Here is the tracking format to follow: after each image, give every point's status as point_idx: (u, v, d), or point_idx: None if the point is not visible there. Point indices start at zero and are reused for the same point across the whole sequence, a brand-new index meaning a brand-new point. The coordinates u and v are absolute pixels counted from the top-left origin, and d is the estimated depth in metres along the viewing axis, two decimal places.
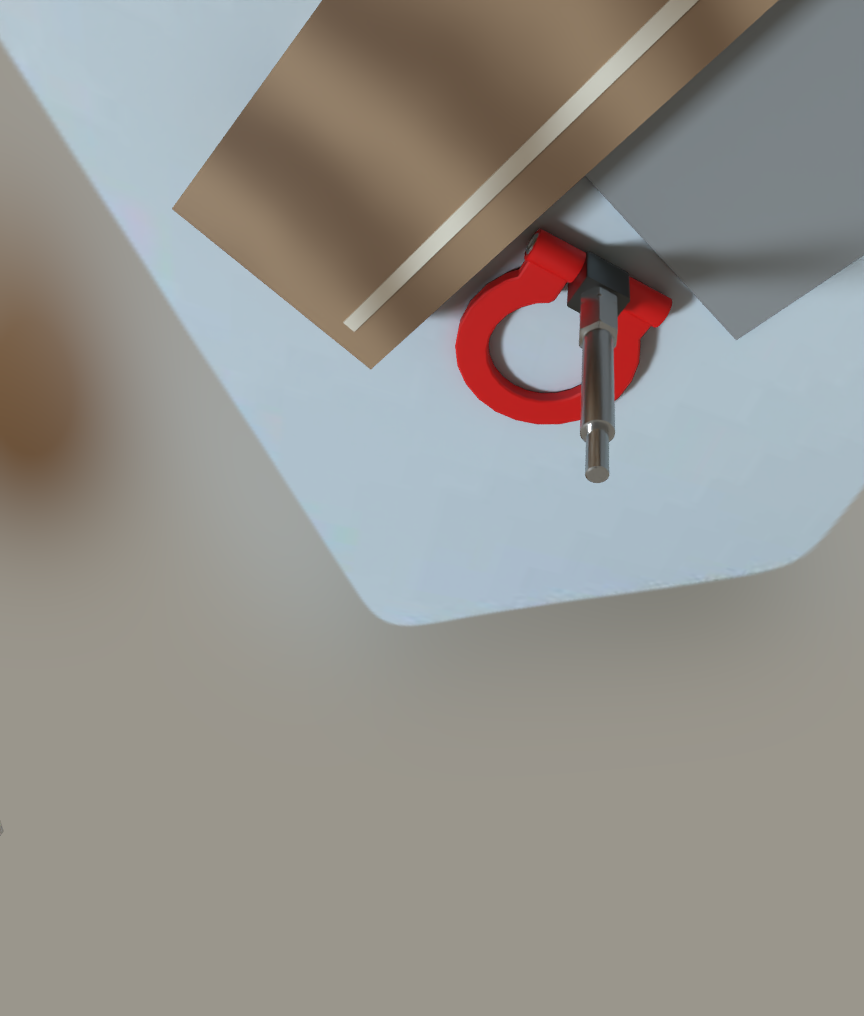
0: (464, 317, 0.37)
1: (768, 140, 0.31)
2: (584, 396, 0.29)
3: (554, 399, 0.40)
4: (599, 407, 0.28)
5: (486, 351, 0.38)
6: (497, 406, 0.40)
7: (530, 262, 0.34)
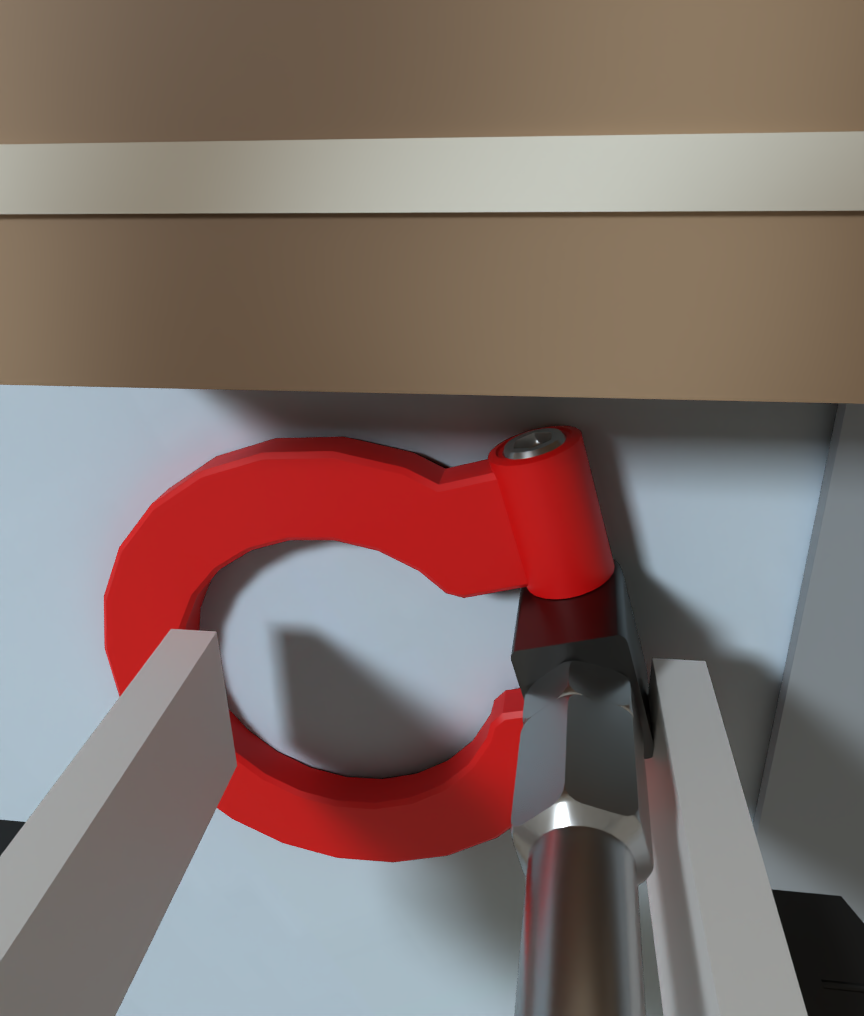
0: (231, 463, 0.12)
1: None
2: None
3: (265, 768, 0.15)
4: None
5: (213, 573, 0.13)
6: None
7: (495, 478, 0.12)
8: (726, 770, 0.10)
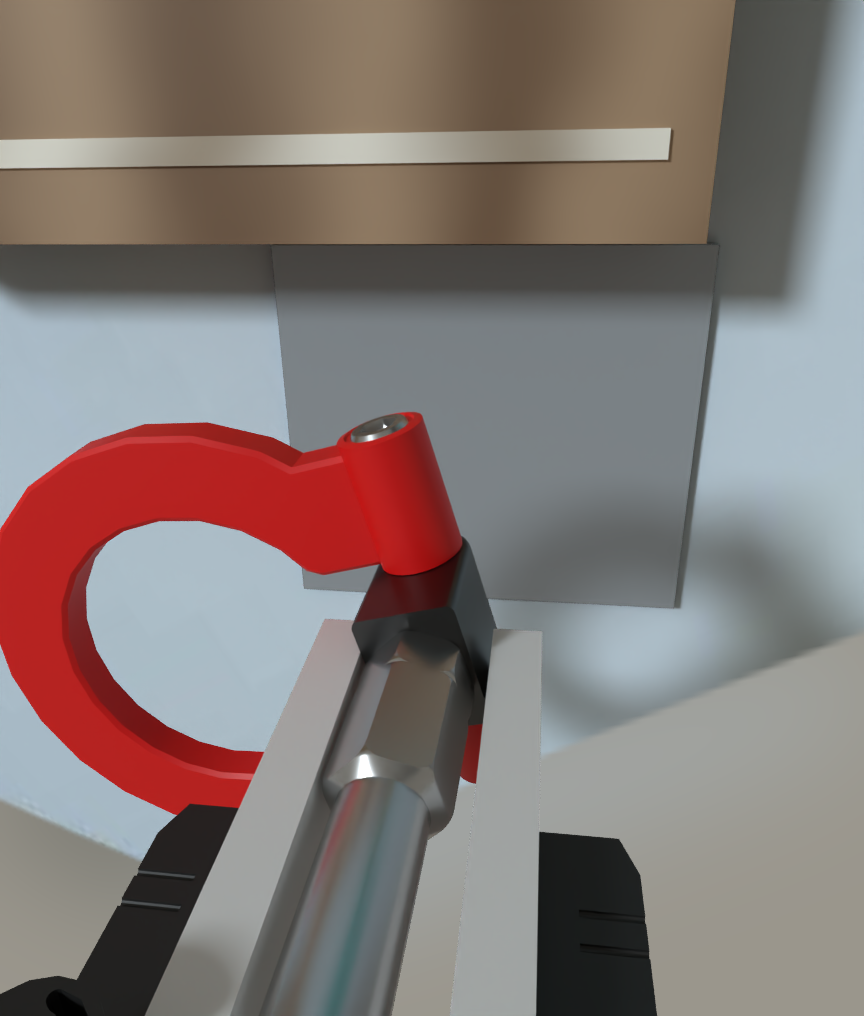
0: (99, 447, 0.13)
1: (473, 403, 0.24)
2: None
3: (154, 742, 0.16)
4: None
5: (90, 553, 0.14)
6: (23, 670, 0.15)
7: (342, 460, 0.13)
8: (531, 727, 0.11)
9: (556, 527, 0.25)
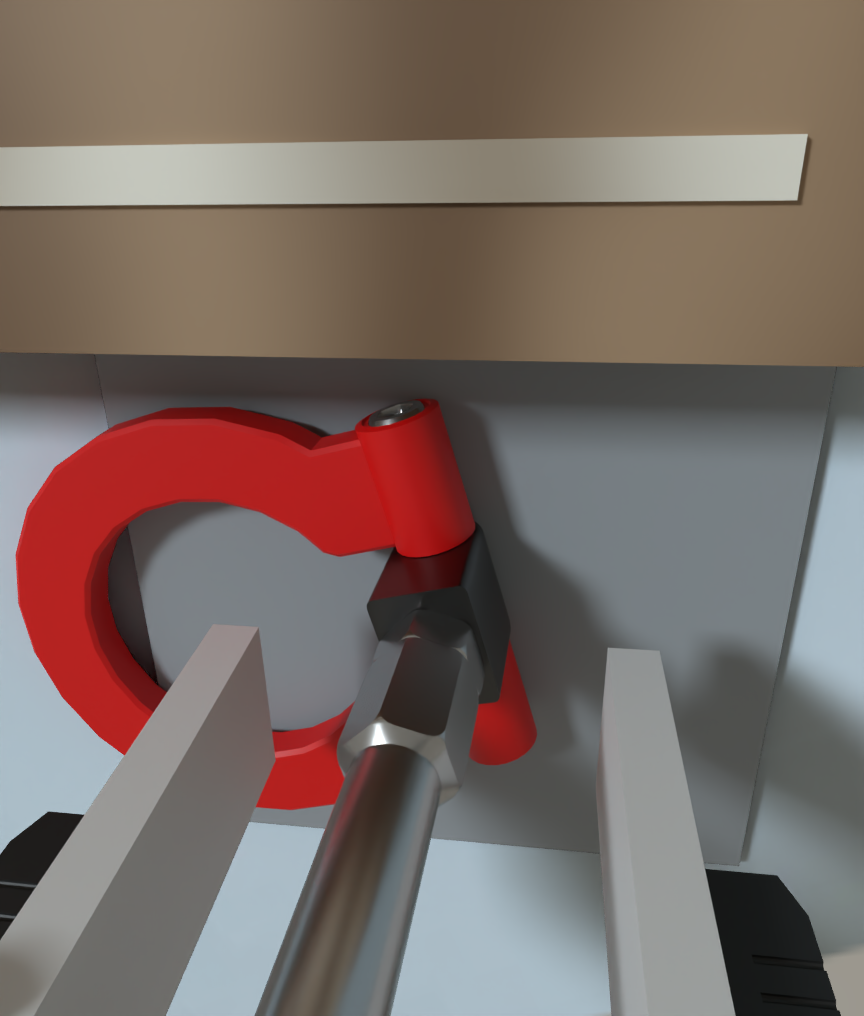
0: (125, 429, 0.14)
1: None
2: None
3: None
4: None
5: (113, 532, 0.14)
6: (46, 647, 0.16)
7: (360, 444, 0.13)
8: (670, 755, 0.10)
9: (560, 750, 0.16)
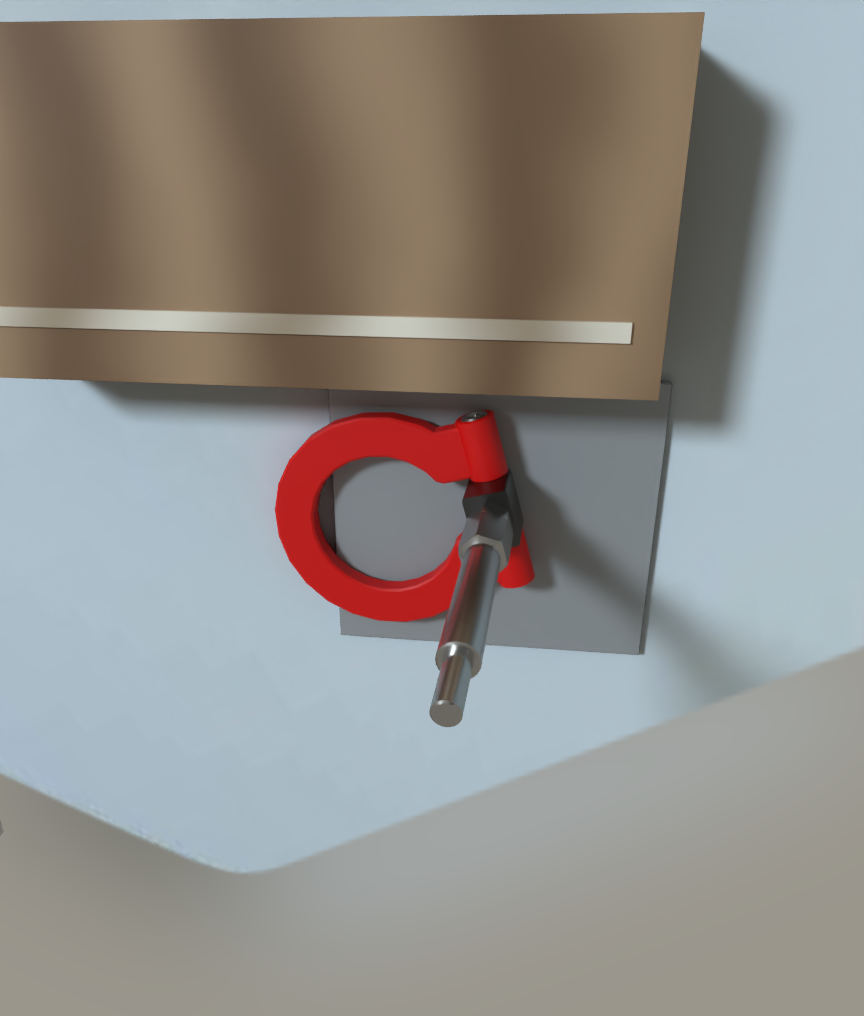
0: (345, 422, 0.29)
1: None
2: (462, 609, 0.22)
3: (346, 573, 0.32)
4: (478, 635, 0.21)
5: (332, 472, 0.30)
6: (286, 532, 0.31)
7: (457, 429, 0.28)
8: None
9: (546, 590, 0.32)
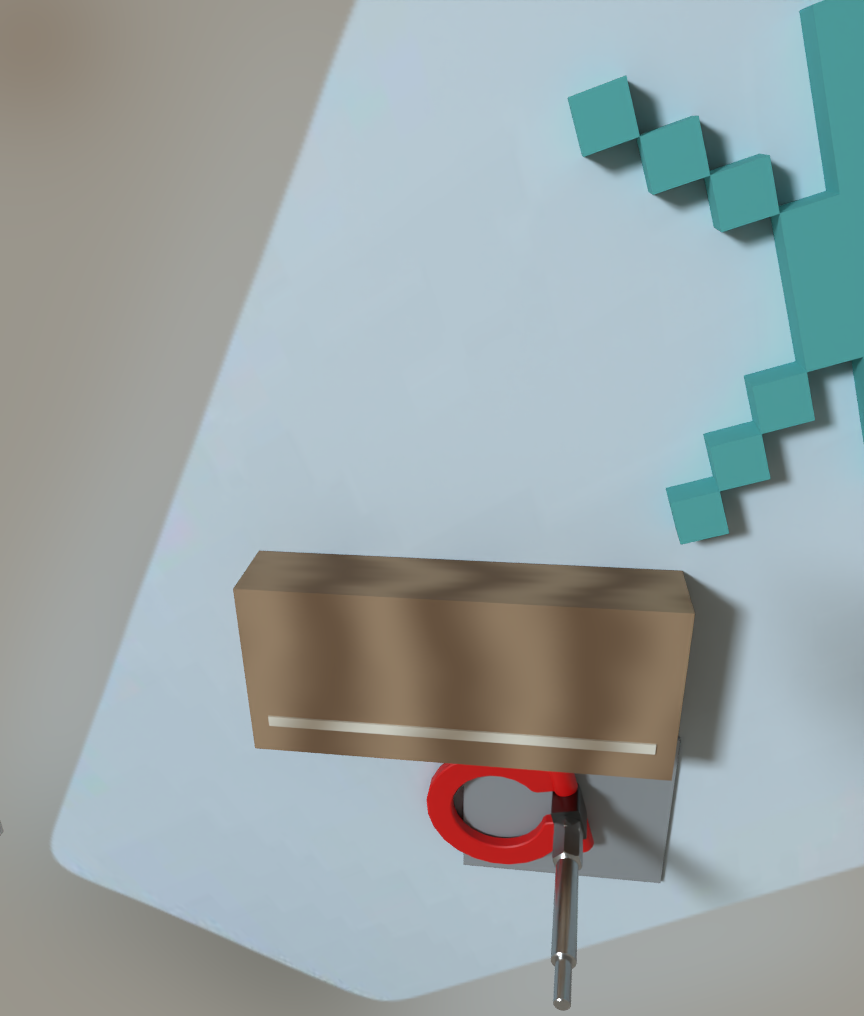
0: None
1: None
2: (563, 923, 0.39)
3: (470, 835, 0.49)
4: (573, 944, 0.38)
5: (465, 782, 0.47)
6: (433, 812, 0.49)
7: None
8: None
9: (600, 845, 0.49)
